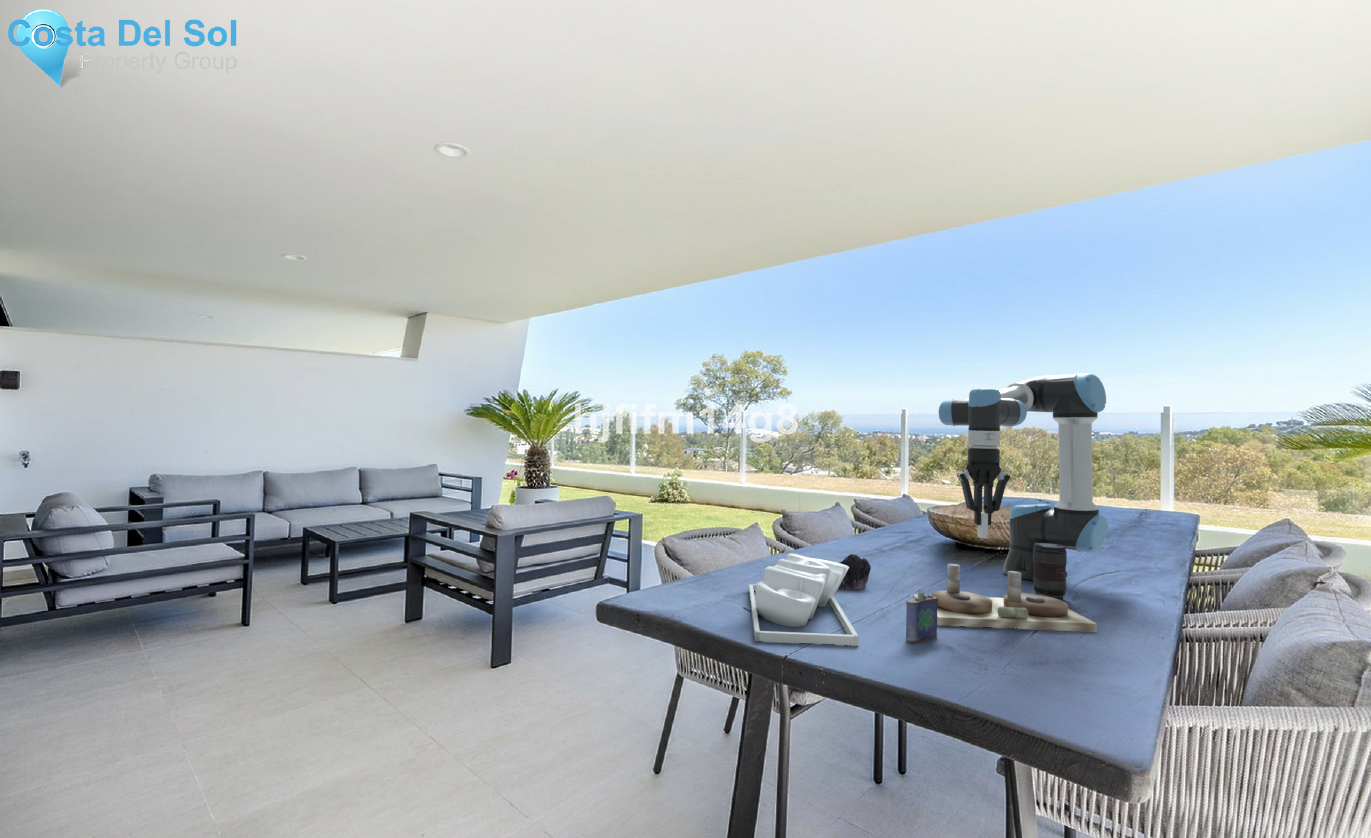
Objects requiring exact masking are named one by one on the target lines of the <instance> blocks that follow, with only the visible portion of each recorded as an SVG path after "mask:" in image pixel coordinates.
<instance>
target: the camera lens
mask: <svg viewBox="0 0 1371 838" xmlns="http://www.w3.org/2000/svg"><path fill="white" fill-rule="evenodd" d="M1067 558H1068V556H1067V549H1066V548H1065V546H1063V545H1058V544H1049V543H1036V544H1034V548H1033V563H1034V577H1033V580H1032V581H1033V583H1032V584H1033V591H1034V592H1035V593H1034V594H1037V595H1043V596H1048V597H1052V598H1056V599H1059V600H1062V601H1064V596H1066V591H1067V590H1066V589H1067V579H1066V578H1067V577H1068V572H1067V569H1066V567H1067V563H1068V562H1067V561H1068V559H1067Z"/></svg>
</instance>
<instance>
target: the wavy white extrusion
mask: <svg viewBox="0 0 1371 838" xmlns="http://www.w3.org/2000/svg"><path fill="white" fill-rule="evenodd" d="M848 569H849V567H848V566H847V565H843V564H840V562H837V561H831V560H826V559H822V558H821V559H820V558H814V557H813V558H812V557H808V556H804V555H801V554H797V553H793V552H792V553H791V552H790V553H788V554H787V555H786V556H785V559H784V558H780V559H779V560H777V564H775V565H773V566H767V567H765V569H764V577H763V580H760V581H759V582H757V583H755V584H756V592H755V603H756V610H757V615H758V616H760V617H762V619H765V620H767V621H768V620H769V621H768V622H770V621H771V623H772V622H774V623H773V624H777V625H779V624H781V625H780V626H783V625H785V626H784V627H789V626H790V627H792V628H800V627H799V626H801V627H805V626H807V624H808V621H809V620H808V619H812V620H813V618H814V615H815V612H816V609H817V608H818V607H821V608H825V607H827V606H828V603H829V602H830V601H829V599H830V597H831V595H832V596H834V597H835V595H836V593H837V591H838V590H839V589H838V587H839V586H840V584H841V582H842V580H843V578H844V576H845V574H846V572H847V571H848ZM828 601H829V602H828ZM804 625H805V626H804ZM790 627H789V628H790Z"/></svg>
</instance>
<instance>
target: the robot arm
mask: <svg viewBox="0 0 1371 838" xmlns="http://www.w3.org/2000/svg"><path fill="white" fill-rule="evenodd" d="M1106 404H1107V394H1106V389H1105V387H1104V384H1103V381H1101V379H1100V378H1099V377H1098V376H1097V375H1095V374H1093V373H1078V372H1077V373H1071V374H1057V375H1041V376H1036V377H1035V376H1034V377H1033V378H1029V379H1025V380H1024V379H1023V380H1021V381H1017V382H1014V383H1011V384H1009V385H1008V386H1007V387H1006V388H1003V389H998V388H974V389H971V390H970V391H969V394H968V397H965V398H961V399H960V398H959V399H954V398H953V399H949V400H948V399H947V400H944V401H942V402H941V403H940V405H939V407H938V417H939V420H940V423H942V424H943V425H944V426H953V427H956V426H966V427H967V426H968V431H967V432H968V434H967V435H968V436H967V445H968V446H969V448H968V449H967V465H966V468H965V470H963V471H962V472H958V473H957V474H956V477H957V479H958V480H959V481H960V483H961V490H962V493H963V498H964V502H965V505H966V509H968V510H970V511H972V512H973V513H974V515H973V518H974V519H973V521H974V522H973V523H974V525H975V526H976V525H977V536H976V537H977V538H980V539H984V540H985V539H988V538H989V537H988V536H989V534H988V533H989V529H988V528H989V526H991V525H992V514H994V512H998V511H999V510H1000V508H1001V505H1002V501H1003V498H1004V497H1003V496H1004V494H1005V489H1006V486H1007V483H1008V482H1009V480H1010V479H1011V475H1009V474H1006V473H1004V472H1003V471H1002V468H1001V466H1000V459H1001V456H1000V455H1001V451H1000V449H999V447H1000V446H1001V445H1000V444H1001V427H1010V428H1011V427H1015V426H1019V425H1021V424H1022V423H1023V422H1024V421H1025V420H1026V418H1027V416H1028V415H1027V413H1029V412H1031V413H1032V412H1033V413H1035V412H1036V413H1052V419H1053V420H1054V421H1055V422H1057V424H1058V477H1059V478H1058V481H1059V482H1058V483H1059V484H1058V485H1059V487H1058V488H1059V489H1058V491H1059V500H1058V502H1056V503H1055V504H1054V505H1053V507H1052V505H1051V504H1049V503H1048V504H1047V503H1046V504H1045V503H1044V504H1043V503H1040V504H1039V503H1038V504H1037V503H1036V504H1035V503H1034V504H1017V505H1013V506H1011V508H1010V513H1009V519H1008V520H1009V551H1008V554H1007V556H1006V558H1005V561H1004V564H1003V573H1004V574H1005V575H1007V576H1008V571H1015V572H1020V573H1021V580H1027V581H1028V580H1030V581H1033V577H1034V563H1033V548H1034V544H1036V543H1049V544H1058V545H1063V546H1065V548H1066V550H1070V551H1074V552H1075V551H1076V552H1078V553H1082V552H1083V553H1095V552H1098V551H1099V550H1100V549H1101V548H1102V547H1103V545H1104V543H1105V541H1106V538H1107V535H1108V528H1109V527H1108V526H1109V525H1108V524H1109V523H1108V521H1107V517H1105V516H1104V515H1102V514H1100V511H1099V507H1098V505H1096V504H1095V503H1094V502H1093V495H1094V494H1093V434H1092V433H1093V431H1092V430H1093V426H1092V424H1093V423H1094V422H1095V421H1096V420H1097V419H1098V414H1099V413H1100V412H1102V411H1104V409H1105V408H1106ZM969 478H971V480H972V481H973V482H972V484H973V485H972V486H973V494H972V489H971V485H970V481H969ZM996 479H997V482H996V486H995V490H994V489H993V488H994V481H995V480H996ZM993 490H994V493H993Z"/></svg>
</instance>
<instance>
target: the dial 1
mask: <svg viewBox="0 0 1371 838" xmlns="http://www.w3.org/2000/svg"><path fill="white" fill-rule="evenodd" d="M946 567H947V569H946V570H947V571H946V572H947V573H946V574H947V579H946V581H947V582H946V583H947V584H946V590H937V591H936V590H935V591H934V592H932V593H931V595H932V596H934V597H937V598H938V607H940V608H943V609H947V610H951V611H956V612H963V613H987V612H990V611H991V610H992V600H991V599H989V598H987V597H988V596H984V595H981V594H979V593H974V592H969V591H962V590H960V589H961V586H960V585H961V584H960V583H961V581H960V580H961V576H960V575H961V565H960V564H957V563H956V564H955V563H948V564H947V566H946Z"/></svg>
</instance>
